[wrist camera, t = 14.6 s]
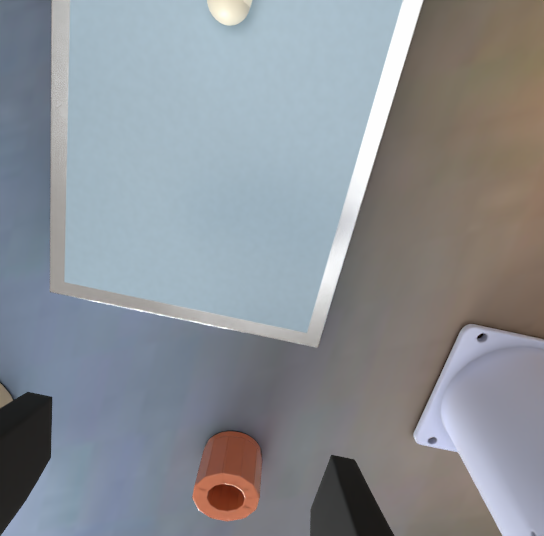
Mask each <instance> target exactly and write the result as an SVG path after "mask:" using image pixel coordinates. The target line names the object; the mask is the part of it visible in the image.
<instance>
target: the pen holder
mask: <svg viewBox="0 0 544 536" xmlns="http://www.w3.org/2000/svg"><path fill="white" fill-rule="evenodd" d="M261 470H262V452H261V449H260V446H259V445H258V443H257V442H256V441H255V440H254V439H253V438H252V437H250V436H248V435H246V434H244V433H241V432H235V431H226V432H221V433H218V434H216V435H214V436H213V437H211V438H210V439H209V440H208V442H207V443H206V445H205V448H204V450H203V454H202V458H201V462H200V466H199V470H198V474H197V478H196V482H195V486H194V491H193V496H192V497H193V500H194V502H195V504H196V506H197V508H198V510H199V511H201V512H203V513H204V514H206V515H207V516H209V517H210V518H213V519H218V520H223V521H233V520H238V519H243V518H246V517H247V516H248V515H250V514H251V513H252V512H254V511H255V510H256V509H257V505H258V502H259V498H260V484H261Z"/></svg>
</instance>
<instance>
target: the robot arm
mask: <svg viewBox="0 0 544 536" xmlns="http://www.w3.org/2000/svg"><path fill="white" fill-rule="evenodd" d="M482 333H484V335H483V336H482V337H481V338H477V337H478V335H480V334H482ZM51 427H52V397H50V396H45V395H40V394H35V393H30V392H27V393H25V394H23V395H22V396H20V397H18V398H17V399H15V400H13V401H11V402H10V403H8V404H6V405H5V406H3V407H1V408H0V536H1V534H2V533H3V532H4V530H5V529H6V527H7V526H8V525H9V523H10V522H11V520H12V519H13V518H14V516H15V515H16V513H17V512H18V511H19V509H20V508H21V506H22V505H23V504H24V502H25V501H26V499H27V498H28V496H29V494H30V493H31V491H32V489H33V488H34V486H35V484H36V483H37V481H38V479H39V477H40V476H41V474H42V472H43V470H44V469H45V467H46V465H47V463H48V461H49V460H50V458H51ZM413 436H414V438H415V441H416V442H417V443H418V444H420V445H425V446H430V447H435V448H440V449H445V450H450V451H455V452H458V453H459V455H460V456H461V458H462V460H463V462H464V464H465V466H466V468H467V470H468V471H469V473H470V475H471V477H472V479H473V481H474V483H475V485H476V487H477V488H478V490H479V492H480V494H481V496H482V498H483V500H484V502H485V503H486V505H487V507H488V509H489V511H490V513H491V515H492V517H493V519H494V520H495V522H496V524H497V526H498V528H499V530H500V532H501V534H502V535H503V536H544V339H541V338H536V337H531V336H527V335H522V334H517V333H513V332H508V331H503V330H499V329H494V328H490V327H485V326H480V325H476V324H468V325H466V326H464V327H463V328H462V329H461V331H460V333H459V335H458V337H457V339H456V342H455V344H454V346H453V348H452V350H451V353H450V355H449V357H448V359H447V361H446V364H445V366H444V368H443V370H442V372H441V374H440V377H439V379H438V381H437V383H436V385H435V388H434V390H433V392H432V394H431V396H430V398H429V401H428V403H427V405H426V407H425V409H424V412H423V414H422V416H421V418H420V420H419V423H418V425H417V427H416V429H415V431H414V435H413ZM431 437H433V438H431ZM429 438H431V439H429ZM310 536H394V534H393V532H392V531H391V529H390V527H389V525H388V523H387V521H386V519H385V518H384V516H383V514H382V512H381V510H380V508H379V506H378V504H377V502H376V500H375V498H374V496H373V495H372V493H371V491H370V489H369V487H368V485H367V483H366V481H365V479H364V477H363V475H362V473H361V471H360V469H359V467H358V465H357V463H356V462H355V460H354V459H349V458H344V457H339V456H334V455H331V457H330V460H329V463H328V465H327V468H326V471H325V473H324V476H323V478H322V481H321V484H320V486H319V489H318V492H317V494H316V497H315V499H314V502H313V505H312V507H311V521H310Z"/></svg>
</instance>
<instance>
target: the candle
mask: <svg viewBox="0 0 544 536" xmlns="http://www.w3.org/2000/svg"><path fill="white" fill-rule="evenodd" d="M11 401H13V399H12V397H11V395H10V394H9V392H8V391H7V390H6V389H5V388H4V386H3V385H1V384H0V408H1V407H3V406H5V405H6V404H8V403H10V402H11Z"/></svg>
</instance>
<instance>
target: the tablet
mask: <svg viewBox="0 0 544 536" xmlns="http://www.w3.org/2000/svg"><path fill="white" fill-rule="evenodd" d="M423 2H424V0H252V3H251V7H250V10H249V13H248V15H247V16H246V18H245V19H244V20H243V21H242V22H240V23H239V24H236V25H232V26H228V25H224V24H221V23H220V22H218V21H217V20H216V19H215V18H214V17H213V16H212V14H211V12H210V11H209V8H208V4H207V0H51V159H50V292H52V293H57V294H62V295H67V296H72V297H76V298H81V299H86V300H91V301H96V302H100V303H105V304H110V305H115V306H120V307H124V308H129V309H134V310H139V311H144V312H148V313H153V314H158V315H163V316H168V317H172V318H177V319H182V320H187V321H192V322H196V323H201V324H206V325H211V326H216V327H220V328H225V329H230V330H235V331H240V332H244V333H249V334H254V335H259V336H264V337H268V338H273V339H278V340H283V341H288V342H292V343H297V344H302V345H307V346H312V347H316V348H318V345H319V342H320V339H321V336H322V332H323V329H324V326H325V322H326V319H327V316H328V313H329V309H330V306H331V303H332V300H333V296H334V293H335V290H336V287H337V283H338V280H339V277H340V273H341V270H342V267H343V264H344V260H345V257H346V254H347V251H348V247H349V244H350V241H351V238H352V234H353V231H354V228H355V224H356V221H357V218H358V215H359V211H360V208H361V205H362V202H363V198H364V195H365V192H366V189H367V185H368V182H369V179H370V175H371V172H372V169H373V166H374V162H375V159H376V156H377V153H378V149H379V146H380V143H381V140H382V136H383V133H384V130H385V126H386V123H387V120H388V117H389V113H390V110H391V107H392V104H393V100H394V97H395V94H396V91H397V87H398V84H399V81H400V77H401V74H402V71H403V68H404V64H405V61H406V58H407V55H408V51H409V48H410V45H411V41H412V38H413V35H414V32H415V28H416V25H417V22H418V19H419V15H420V12H421V9H422V6H423Z"/></svg>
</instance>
